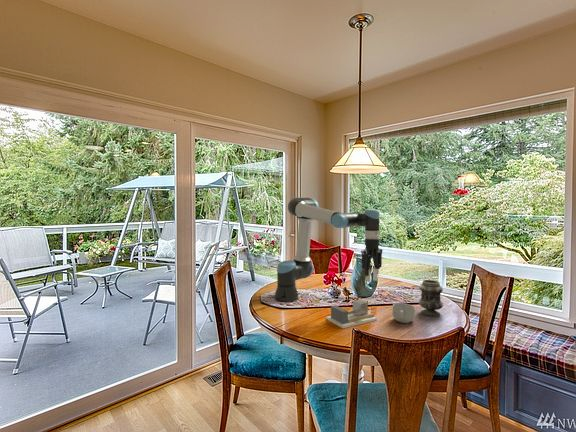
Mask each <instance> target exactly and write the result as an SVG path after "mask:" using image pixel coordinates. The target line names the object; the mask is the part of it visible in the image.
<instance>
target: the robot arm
mask: <svg viewBox="0 0 576 432" xmlns="http://www.w3.org/2000/svg"><path fill="white" fill-rule="evenodd" d="M287 210H288V212H289V215H290V214H291V215H292V216H294V217H296V218H297V220H298V225H297V226H298V229H297V243H296V254H295V256H294V257H293V260H284V261H280V262H279V263H277V266H276V267H277V269H276V274H277V275H276V278H277V283H276V285H277V286H276V290H275V292H274V299H276V300H275V301H277V300H279V301H278V302H281V301H291V302H295V301H294V300H296V301H297V300H298V299H299V293H298V290H297V286H296V282H297V281H298V280H302V279H307V278H309V277H311V276H312V275H313V273H314V269H315V268H314V264H313V261H312V259H311V257H310V250H311V249H310V247H311V238H312V227H313V226H312V225H313V221H317V222H322V223H324V224H328V225H332V226H333V227H334V228H336V229H344V228H353V227H354V228H355V227H359V228H360V227H362V228H363V227H364V238H365V239H364V246H365V248H364V250H361V251H360V254H361V268H362V269H363V270H364V273H365V274H364V276H365V282H367V283H371V270H370V267H371V261H372V262H373V268H372V281H375V282H378V281H379V277H378V276H379V270H380V269H381V267H382V263H383V262H382V259H383V258H382V257H383V256H382V254H383V249H382V248H379V246H380V221H381V220H380V219H381V217H380V210H378V209H366V210H365V211H364V213H363V212H346V213H342V212H338V211H335V210H331V209H327V208H323V207H320V205H319V203H318V201H317V200H316V199H315V198H313V197H312V198H311V197H294V198H291V199H290V201H289V202H288V204H287Z"/></svg>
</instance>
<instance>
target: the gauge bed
mask: <svg viewBox="0 0 576 432" xmlns="http://www.w3.org/2000/svg"><path fill="white" fill-rule="evenodd" d="M325 318H326V320H327V321H329V322H330V323H333V324H335V325H336V326H338V327H339V328H341V329H346V328H350V327H355V326H359V325H363V324H367V323H371V322H375V321H377V317H375V314H374V313H373V312H372V313H368V314H367V315H363V316H356V315H354V314H353V309H351V310H346V309H344V308H342V307H340V306H338V305H336V304H335V305H330V315H328V316H326V317H325Z"/></svg>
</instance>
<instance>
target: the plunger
mask: <svg viewBox="0 0 576 432" xmlns="http://www.w3.org/2000/svg"><path fill="white" fill-rule="evenodd" d="M368 304H369V302H368V301H365V300H362V299H356V300H352V310H353V314H354V315H356V316H363V315H367V314H369V312H368V311H371V308H368V307H369V305H368Z"/></svg>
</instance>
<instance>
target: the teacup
mask: <svg viewBox="0 0 576 432" xmlns="http://www.w3.org/2000/svg"><path fill="white" fill-rule="evenodd" d="M415 312H416V307H415V306H414V305H411V304H409V303H404V302H395V303H393V304H392V317H393V318H394V319H395V320H396V322H398V323H402V324H409V323H411V322H412V321H414V318H415Z"/></svg>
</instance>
